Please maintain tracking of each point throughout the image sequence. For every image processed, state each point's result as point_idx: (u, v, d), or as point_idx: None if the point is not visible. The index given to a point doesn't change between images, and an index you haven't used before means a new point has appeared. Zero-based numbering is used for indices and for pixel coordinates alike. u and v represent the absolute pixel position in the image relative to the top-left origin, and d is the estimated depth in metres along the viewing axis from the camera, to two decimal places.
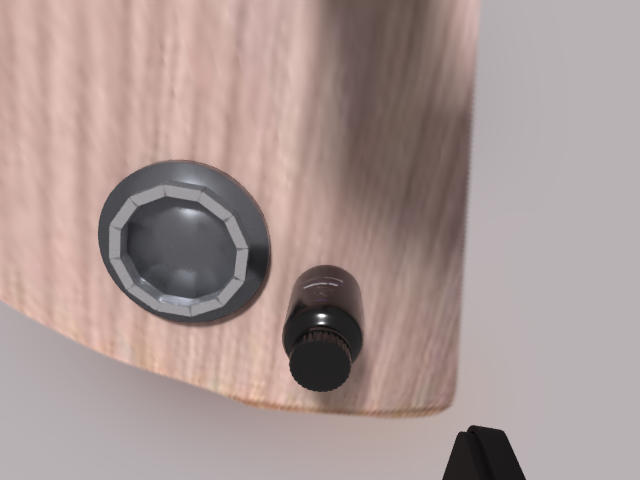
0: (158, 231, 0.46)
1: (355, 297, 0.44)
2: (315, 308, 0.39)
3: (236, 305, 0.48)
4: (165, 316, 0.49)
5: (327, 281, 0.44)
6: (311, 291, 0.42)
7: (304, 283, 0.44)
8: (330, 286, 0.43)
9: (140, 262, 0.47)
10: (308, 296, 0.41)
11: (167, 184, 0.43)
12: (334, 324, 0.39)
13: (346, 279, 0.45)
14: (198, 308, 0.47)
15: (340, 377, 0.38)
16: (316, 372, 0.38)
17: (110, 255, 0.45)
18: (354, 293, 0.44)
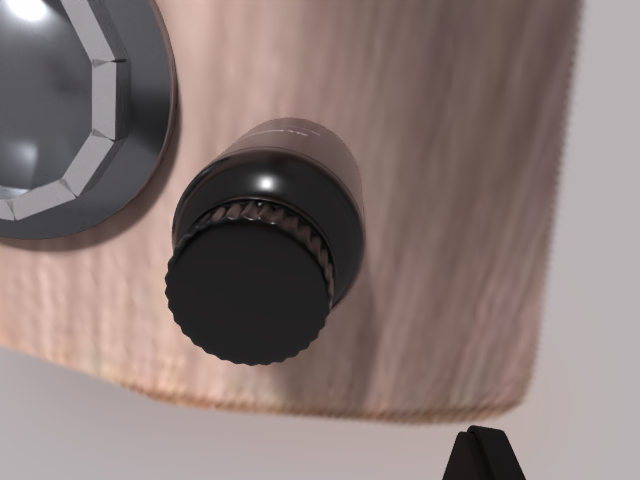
0: None
1: (347, 165, 0.20)
2: (246, 157, 0.16)
3: (113, 203, 0.24)
4: None
5: (287, 129, 0.20)
6: (246, 140, 0.18)
7: (239, 139, 0.21)
8: (291, 133, 0.19)
9: None
10: (237, 146, 0.18)
11: None
12: (291, 194, 0.15)
13: (330, 136, 0.22)
14: (27, 202, 0.23)
15: (303, 325, 0.14)
16: (238, 312, 0.14)
17: None
18: (345, 159, 0.20)
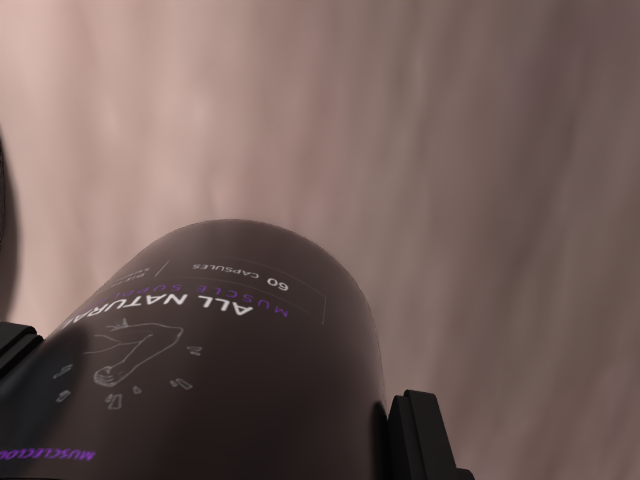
0: None
1: (356, 377, 0.08)
2: None
3: None
4: None
5: (200, 289, 0.08)
6: (61, 354, 0.06)
7: (93, 298, 0.09)
8: (202, 315, 0.07)
9: None
10: (10, 398, 0.06)
11: None
12: None
13: (314, 278, 0.09)
14: None
15: None
16: None
17: None
18: (350, 352, 0.08)
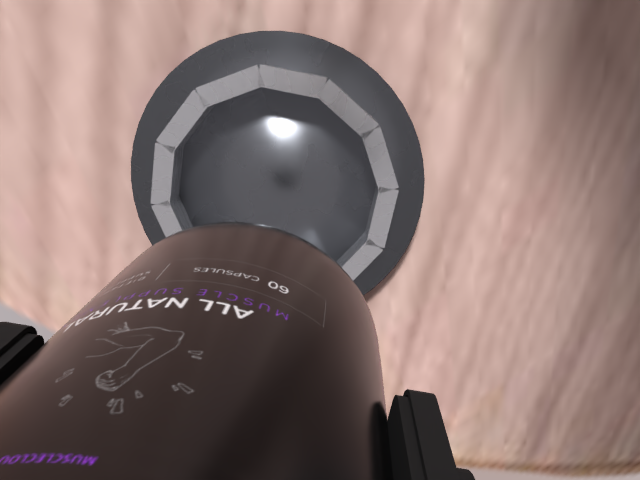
0: (236, 160, 0.26)
1: (356, 380, 0.08)
2: None
3: None
4: None
5: (201, 292, 0.08)
6: (63, 358, 0.06)
7: (94, 301, 0.09)
8: (203, 320, 0.07)
9: (200, 215, 0.28)
10: (12, 403, 0.06)
11: (265, 65, 0.23)
12: None
13: (314, 280, 0.10)
14: None
15: None
16: None
17: (153, 198, 0.26)
18: (351, 354, 0.08)
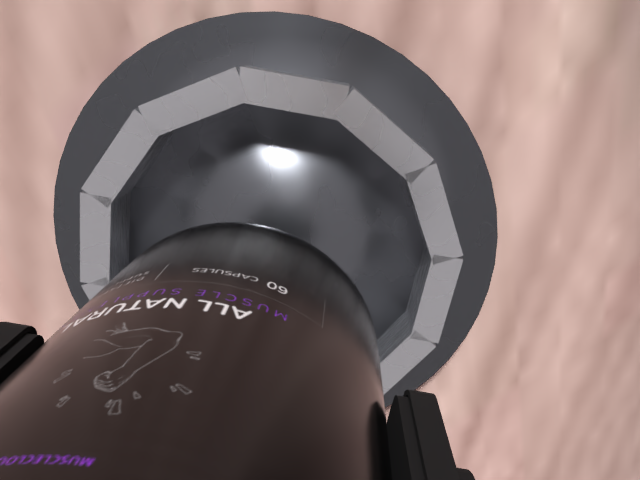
0: (210, 211, 0.17)
1: (355, 381, 0.08)
2: None
3: (391, 394, 0.20)
4: None
5: (199, 293, 0.08)
6: (61, 358, 0.06)
7: (93, 301, 0.09)
8: (201, 320, 0.07)
9: None
10: (10, 403, 0.06)
11: (249, 67, 0.14)
12: None
13: (313, 281, 0.10)
14: None
15: None
16: None
17: (83, 275, 0.17)
18: (350, 355, 0.08)
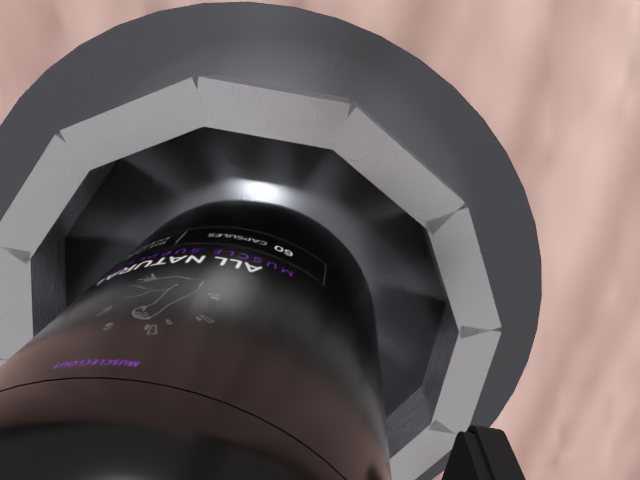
0: None
1: (352, 329, 0.09)
2: (15, 446, 0.05)
3: None
4: None
5: (216, 251, 0.09)
6: (101, 300, 0.07)
7: (120, 263, 0.10)
8: (218, 271, 0.08)
9: None
10: (62, 331, 0.07)
11: (211, 78, 0.10)
12: None
13: (315, 247, 0.11)
14: None
15: None
16: None
17: None
18: (348, 309, 0.09)
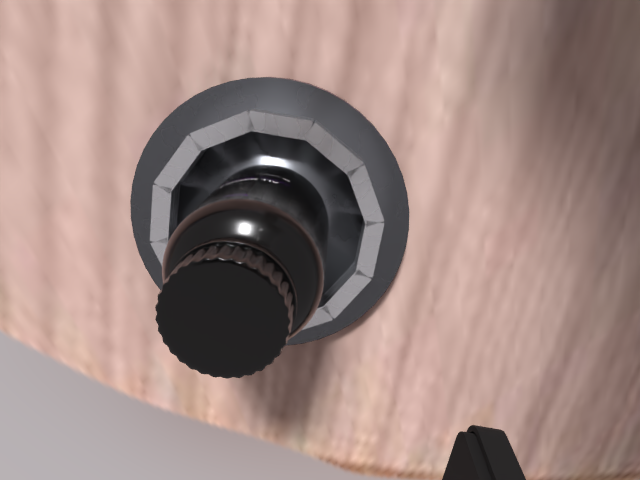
0: None
1: (312, 207, 0.23)
2: (222, 206, 0.19)
3: (348, 318, 0.30)
4: None
5: (260, 177, 0.23)
6: (225, 188, 0.22)
7: (220, 185, 0.24)
8: (263, 181, 0.23)
9: None
10: (217, 194, 0.21)
11: (255, 111, 0.25)
12: (259, 236, 0.19)
13: (299, 181, 0.25)
14: None
15: (268, 344, 0.17)
16: (215, 334, 0.17)
17: (152, 236, 0.27)
18: (311, 202, 0.24)
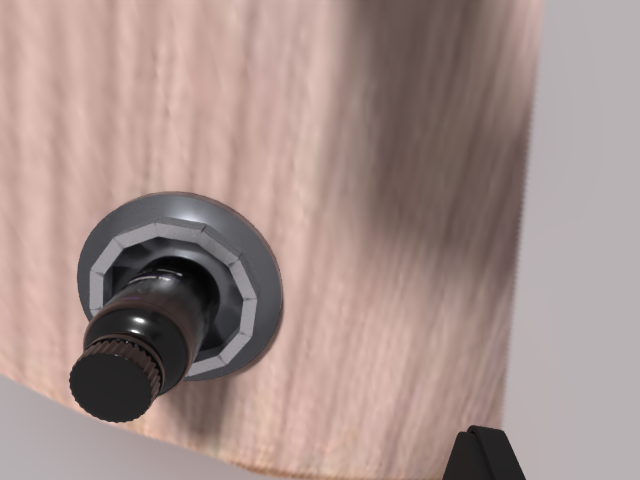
0: None
1: (195, 295, 0.34)
2: (119, 309, 0.29)
3: (241, 362, 0.41)
4: None
5: (158, 275, 0.33)
6: (130, 287, 0.32)
7: (133, 277, 0.34)
8: (158, 280, 0.33)
9: None
10: (122, 293, 0.31)
11: (160, 222, 0.35)
12: (140, 330, 0.29)
13: (191, 272, 0.35)
14: (196, 367, 0.39)
15: (140, 403, 0.28)
16: (107, 396, 0.28)
17: (91, 305, 0.37)
18: (196, 290, 0.34)
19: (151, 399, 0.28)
